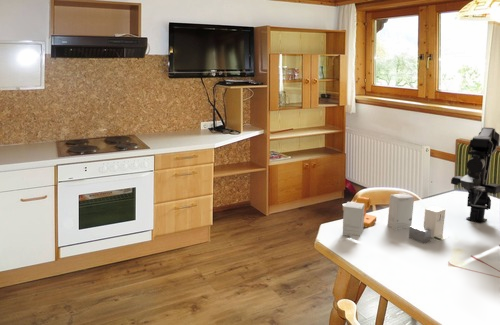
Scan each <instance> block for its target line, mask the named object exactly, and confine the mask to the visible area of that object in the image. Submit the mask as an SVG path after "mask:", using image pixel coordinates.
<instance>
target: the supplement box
mask: <svg viewBox="0 0 500 325" xmlns="http://www.w3.org/2000/svg"><path fill="white" fill-rule="evenodd" d="M364 207H365V204H363V203H356V201H355V202H354V201H353V202H352V201H347V202H346V203H345V204H344V206H343V217H342V218H343V219H342V236H346V237H349V235H351V236H359V237H361V236H362V234H363V232H364V227H363V226H364Z"/></svg>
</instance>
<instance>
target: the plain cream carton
mask: <svg viewBox="0 0 500 325" xmlns="http://www.w3.org/2000/svg"><path fill="white" fill-rule="evenodd" d="M445 217H446V209H445V208H442V207H438V206H435V205H433V206H431V207H430V206H429V207H427V208H425V209H424V217H423V219H424V221H423V227H425V228H428V229H431V230H432V231H431V239H434V238H436V239H439V240H440V241H442V240H441V238H438V237H440V236H442V235H444V228H445V227H444V226H445Z"/></svg>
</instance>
